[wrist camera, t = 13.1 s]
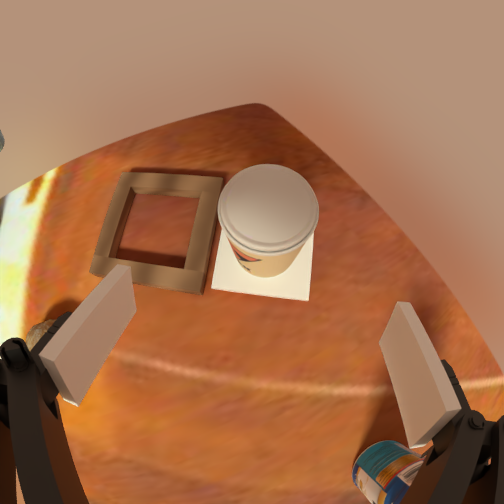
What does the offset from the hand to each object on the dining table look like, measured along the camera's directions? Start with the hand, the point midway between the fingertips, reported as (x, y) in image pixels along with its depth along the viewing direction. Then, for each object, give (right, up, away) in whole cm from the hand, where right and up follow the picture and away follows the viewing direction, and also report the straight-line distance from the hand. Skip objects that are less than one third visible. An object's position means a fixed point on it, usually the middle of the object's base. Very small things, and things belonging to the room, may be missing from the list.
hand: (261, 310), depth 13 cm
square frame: (-13, +6, +25) cm, 29 cm away
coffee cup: (+1, +3, +24) cm, 24 cm away
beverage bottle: (+16, -26, +14) cm, 33 cm away
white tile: (+1, +3, +24) cm, 24 cm away
